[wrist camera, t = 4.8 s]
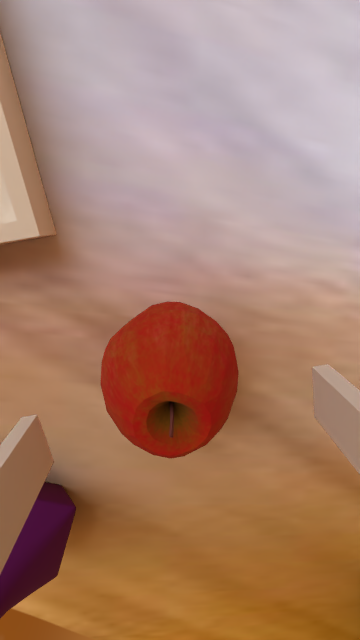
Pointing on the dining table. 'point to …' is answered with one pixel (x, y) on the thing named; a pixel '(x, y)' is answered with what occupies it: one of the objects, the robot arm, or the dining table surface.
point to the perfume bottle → (37, 546)
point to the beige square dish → (18, 170)
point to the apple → (169, 379)
